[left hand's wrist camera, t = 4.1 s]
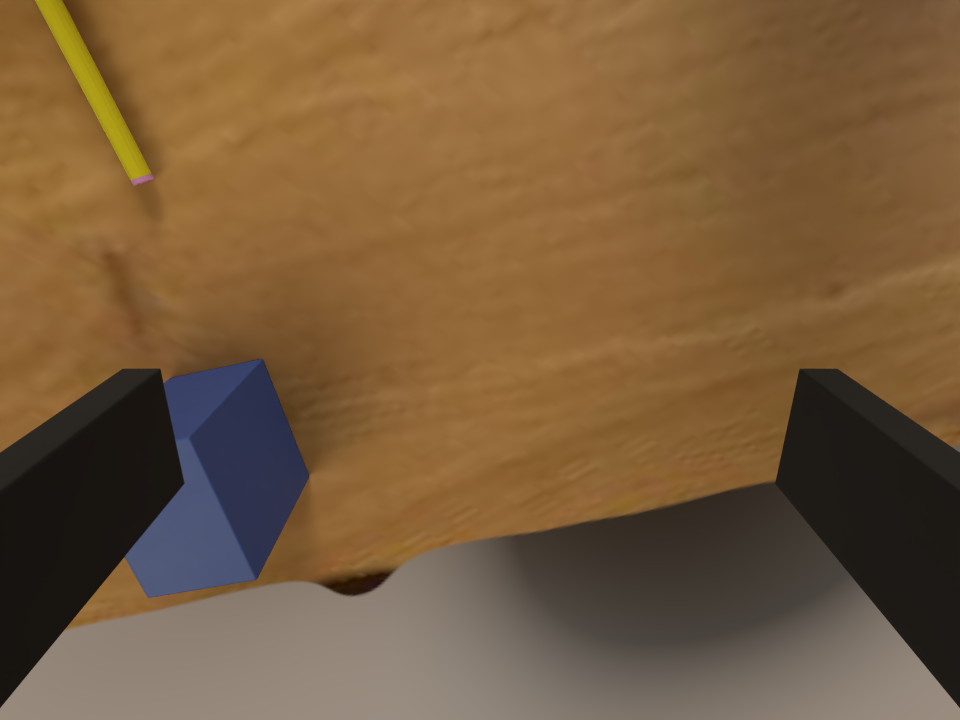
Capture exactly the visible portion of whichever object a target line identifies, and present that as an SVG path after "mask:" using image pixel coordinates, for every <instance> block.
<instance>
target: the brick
mask: <svg viewBox="0 0 960 720" xmlns="http://www.w3.org/2000/svg"><path fill="white" fill-rule="evenodd" d="M164 389H165V393H166V398H167V403H168V408H169V412H170V417H171V422H172V426H173V431H174V436H175V441H176V445H177V450H178V455H179V459H180V464H181V469H182V474H183V478H184V483H185V484H184V485H183V486H182V487H181V489H180V490H179V491H178V492H177V493H176V495H175V496H174V497H173V498H172V500H171V501H170V502H169V503H168V504H167V506H166V507H165V508H164V509H163V510H162V512H161V513H160V514H159V515H158V517H157V518H156V519H155V520H154V521H153V523H152V524H151V525H150V526H149V527H148V529H147V530H146V531H145V532H144V534H143V535H142V536H141V537H140V538H139V540H138V541H137V542H136V543H135V545H134V546H133V547H132V548H131V549H130V551H129V552H128V553H127V554H126V555H125V558H126V560H127V562H128V564H129V565H130V567H131V569H132V571H133V572H134V574H135V576H136V578H137V579H138V581H139V583H140V585H141V586H142V588H143V590H144V592H145V593H146V595H147V597H148V598H151V597H157V596H163V595H169V594H175V593H181V592H187V591H193V590H199V589H205V588H211V587H217V586H223V585H229V584H235V583H241V582H247V581H253V580H256V579H257V578H258V576H259V574H260V572H261V570H262V568H263V566H264V564H265V562H266V560H267V558H268V556H269V554H270V553H271V551H272V549H273V547H274V545H275V543H276V541H277V539H278V537H279V535H280V533H281V531H282V529H283V527H284V525H285V523H286V521H287V519H288V517H289V515H290V513H291V512H292V510H293V508H294V506H295V504H296V502H297V500H298V498H299V496H300V494H301V492H302V490H303V488H304V486H305V484H306V482H307V480H308V478H309V474H308V472H307V469H306V467H305V464H304V462H303V459H302V457H301V454H300V452H299V449H298V447H297V444H296V442H295V439H294V437H293V434H292V432H291V429H290V427H289V424H288V421H287V419H286V416H285V414H284V411H283V409H282V406H281V404H280V401H279V399H278V396H277V394H276V391H275V389H274V386H273V384H272V381H271V379H270V376H269V374H268V371H267V369H266V366H265V364H264V361H263V359H259V360H254V361H249V362H245V363H240V364H235V365H230V366H226V367H221V368H216V369H211V370H207V371H202V372H197V373H192V374H188V375H183V376H178V377H173V378H170V379H169V380H167V381H166V382H165V383H164Z"/></svg>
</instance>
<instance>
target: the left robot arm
mask: <svg viewBox="0 0 960 720" xmlns="http://www.w3.org/2000/svg"><path fill="white" fill-rule="evenodd" d="M184 484H185V483H184V478H183V474H182V469H181V464H180V459H179V455H178V450H177V445H176V441H175V436H174V431H173V426H172V422H171V417H170V412H169V408H168V403H167V398H166V393H165V389H164V384H163V379H162V375H161V370H160V369H122V370H120V371H119V372H118V373H116V374H115V375H113V376H112V377H110V378H109V379H107V380H106V381H104V382H103V383H101V384H100V385H99V386H97V387H96V388H94V389H93V390H91V391H90V392H88V393H87V394H85V395H84V396H82V397H81V398H80V399H78V400H77V401H75V402H74V403H72V404H71V405H69V406H68V407H66V408H65V409H63V410H62V411H61V412H59V413H58V414H56V415H55V416H53V417H52V418H50V419H49V420H47V421H46V422H44V423H43V424H42V425H40V426H39V427H37V428H36V429H34V430H33V431H31V432H30V433H28V434H27V435H25V436H24V437H23V438H21V439H20V440H18V441H17V442H15V443H14V444H12V445H11V446H9V447H8V448H6V449H5V450H4V451H2V452H1V453H0V707H1V706H2V705H3V704H4V703H5V701H6V700H7V699H8V698H9V697H10V695H11V694H12V693H13V692H14V690H15V689H16V688H17V687H18V685H19V684H20V683H21V682H22V681H23V679H24V678H25V677H26V676H27V675H28V673H29V672H30V671H31V670H32V669H33V667H34V666H35V665H36V664H37V662H38V661H39V660H40V659H41V658H42V656H43V655H44V654H45V653H46V651H47V650H48V649H49V648H50V647H51V645H52V644H53V643H54V642H55V641H56V639H57V638H58V637H59V636H60V634H61V633H62V632H63V631H64V630H65V628H66V627H67V626H68V625H69V624H70V622H71V621H72V620H73V619H74V617H75V616H76V615H77V614H78V613H79V611H80V610H81V609H82V608H83V607H84V605H85V604H86V603H87V602H88V600H89V599H90V598H91V597H92V596H93V594H94V593H95V592H96V591H97V589H98V588H99V587H100V586H101V585H102V583H103V582H104V581H105V580H106V579H107V577H108V576H109V575H110V574H111V572H112V571H113V570H114V569H115V568H116V566H117V565H118V564H119V563H120V562H121V560H122V559H123V558H124V557H125V555H126V554H127V553H128V552H129V551H130V549H131V548H132V547H133V546H134V545H135V543H136V542H137V541H138V540H139V538H140V537H141V536H142V535H143V534H144V532H145V531H146V530H147V529H148V527H149V526H150V525H151V524H152V523H153V521H154V520H155V519H156V518H157V517H158V515H159V514H160V513H161V512H162V510H163V509H164V508H165V507H166V506H167V504H168V503H169V502H170V501H171V500H172V498H173V497H174V496H175V495H176V493H177V492H178V491H179V490H180V489H181V487H182V486H183V485H184ZM775 484H776V485H777V486H778V487H779V489H780V490H781V491H782V492H783V493H784V495H785V496H786V497H787V498H788V499H789V501H790V502H791V503H792V504H793V506H794V507H795V508H796V509H797V510H798V512H799V513H800V514H801V515H802V517H803V518H804V519H805V520H806V521H807V523H808V524H809V525H810V526H811V527H812V529H813V530H814V531H815V532H816V534H817V535H818V536H819V537H820V538H821V540H822V541H823V542H824V543H825V545H826V546H827V547H828V548H829V549H830V551H831V552H832V553H833V554H834V555H835V557H836V558H837V559H838V560H839V562H840V563H841V564H842V565H843V566H844V568H845V569H846V570H847V571H848V572H849V574H850V575H851V576H852V577H853V579H854V580H855V581H856V582H857V583H858V585H859V586H860V587H861V588H862V590H863V591H864V592H865V593H866V594H867V596H868V597H869V598H870V599H871V600H872V602H873V603H874V604H875V605H876V607H877V608H878V609H879V610H880V611H881V613H882V614H883V615H884V616H885V617H886V619H887V620H888V621H889V622H890V624H891V625H892V626H893V627H894V628H895V630H896V631H897V632H898V633H899V634H900V636H901V637H902V638H903V639H904V641H905V642H906V643H907V644H908V645H909V647H910V648H911V649H912V650H913V652H914V653H915V654H916V655H917V656H918V658H919V659H920V660H921V661H922V662H923V664H924V665H925V666H926V667H927V669H928V670H929V671H930V672H931V673H932V675H933V676H934V677H935V678H936V679H937V681H938V682H939V683H940V684H941V686H942V687H943V688H944V689H945V690H946V692H947V693H948V694H949V695H950V696H951V698H952V699H953V700H954V701H955V703H956V704H957V705H958V706H959V707H960V453H959V452H958V451H956V450H955V449H954V448H952V447H951V446H949V445H948V444H946V443H945V442H943V441H942V440H940V439H939V438H937V437H936V436H935V435H933V434H932V433H930V432H929V431H927V430H926V429H924V428H923V427H921V426H920V425H918V424H917V423H916V422H914V421H913V420H911V419H910V418H908V417H907V416H905V415H904V414H902V413H901V412H899V411H898V410H897V409H895V408H894V407H892V406H891V405H889V404H888V403H886V402H885V401H883V400H882V399H880V398H879V397H878V396H876V395H875V394H873V393H872V392H870V391H869V390H867V389H866V388H864V387H863V386H861V385H860V384H859V383H857V382H856V381H854V380H853V379H851V378H850V377H848V376H847V375H845V374H844V373H842V372H841V371H840V370H838V369H800V370H799V375H798V379H797V384H796V389H795V393H794V398H793V403H792V408H791V412H790V417H789V422H788V426H787V431H786V436H785V441H784V445H783V450H782V455H781V459H780V464H779V469H778V473H777V478H776V483H775Z"/></svg>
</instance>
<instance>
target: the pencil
mask: <svg viewBox="0 0 960 720" xmlns="http://www.w3.org/2000/svg"><path fill="white" fill-rule="evenodd" d="M35 1H36V3H37V5H38V7H39V9H40V11H41V13H42V15H43V17H44V18H45V20H46V22H47V24H48V26H49V28H50V30H51V32H52V34H53V35H54V37H55V39H56V41H57V43H58V45H59V47H60V49H61V50H62V52H63V54H64V56H65V58H66V60H67V62H68V64H69V66H70V67H71V69H72V71H73V73H74V75H75V77H76V79H77V81H78V83H79V84H80V86H81V88H82V90H83V92H84V94H85V96H86V98H87V99H88V101H89V103H90V105H91V107H92V109H93V111H94V113H95V115H96V116H97V118H98V120H99V122H100V124H101V126H102V128H103V130H104V132H105V133H106V135H107V137H108V139H109V141H110V143H111V145H112V147H113V148H114V150H115V152H116V154H117V156H118V158H119V160H120V162H121V164H122V165H123V167H124V169H125V171H126V173H127V175H128V177H129V179H130V181H131V182H132V184H133V186H136V185H140V184H143V183H146V182H149V181H152V180H154V177H153V175H152V173H151V171H150V169H149V167H148V165H147V163H146V162H145V160H144V158H143V156H142V154H141V152H140V150H139V148H138V146H137V144H136V142H135V140H134V138H133V136H132V134H131V132H130V131H129V129H128V127H127V125H126V123H125V121H124V119H123V117H122V115H121V113H120V111H119V109H118V107H117V105H116V103H115V101H114V100H113V98H112V96H111V94H110V92H109V90H108V88H107V86H106V84H105V82H104V80H103V78H102V76H101V74H100V72H99V70H98V69H97V67H96V65H95V63H94V61H93V59H92V57H91V55H90V53H89V51H88V49H87V47H86V45H85V43H84V41H83V39H82V38H81V36H80V34H79V32H78V30H77V28H76V26H75V24H74V22H73V20H72V18H71V16H70V14H69V12H68V10H67V8H66V6H65V5H64V3H63V1H62V0H35Z"/></svg>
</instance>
